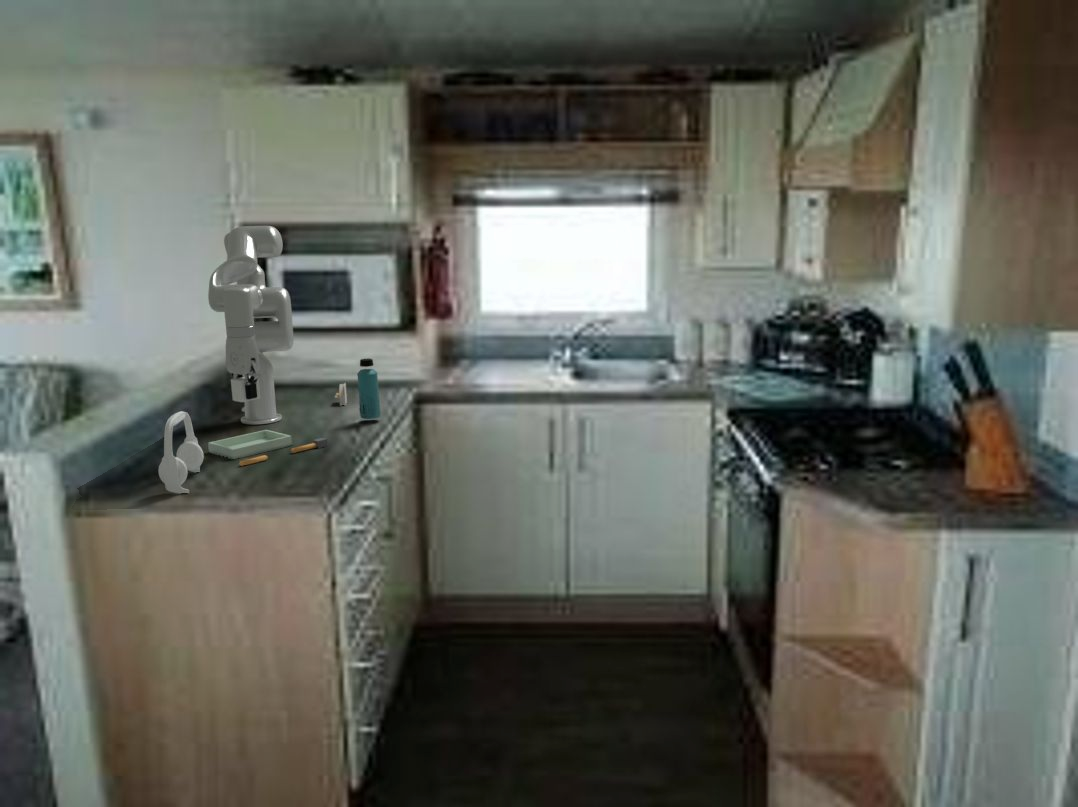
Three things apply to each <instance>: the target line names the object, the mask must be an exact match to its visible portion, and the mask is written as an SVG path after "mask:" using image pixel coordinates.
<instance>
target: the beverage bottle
mask: <svg viewBox="0 0 1078 807" xmlns="http://www.w3.org/2000/svg"><path fill="white" fill-rule="evenodd" d="M359 366H360V367H366V368H363V369H360V370H359V371H358V372H357V373H356V376H357V388H358V399H359V401H358V404H359V416H360V418H361V419H363V420H373V419H378V418H380V416H381V404H380V403H381V402H380V399H381V398H380V392H379V379H378V371H377V370H375V369H374V368H367V367H373V366H374V360H373V358H361V359H360V360H359Z"/></svg>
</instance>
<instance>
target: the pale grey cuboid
mask: <svg viewBox="0 0 1078 807" xmlns="http://www.w3.org/2000/svg"><path fill="white" fill-rule="evenodd" d="M250 377H251V376H249V379H250ZM245 385H247V384H246V380H245V377H241V378H235V379H233V378H232V379H230V386H231V396H232V401H234V402H238V403H244V402H246V401H251V400H256V399H261V397H260V386H259V378H258V380H257V384H256V387H257V398H253V399H246V391H245Z"/></svg>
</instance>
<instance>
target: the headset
mask: <svg viewBox="0 0 1078 807" xmlns="http://www.w3.org/2000/svg"><path fill="white" fill-rule="evenodd" d="M182 421H183V424H184V427H185V428H184V430H185V434H186V437H185V438H184V439H183V440H184V441H183V442H182V443H181V444H180V445H179V446H178V448H177V450H176V455H174V453H173V429H174V426H177V425H178V424H179V423H180V422H182ZM163 438H164V439H163V442H164V443H163V457H162V458H161V461H160V464H159V465H158V476H159V479H160V480H161V482H162V483H163V484H164V486H165V490H166V491H168V492H170V493H175V494H181V493H188V494H190V490H189V489H188V488H184V487H182V484H184V483H185V481H186V480H187V477H188V471H189V472H192V473H196V472H201V469H200V468H201V466H202V464H203V461H204V455H205V454H204V451H203V448H202V447H201V446H200V445H199V441H198V438H197V437H196V436H195V433H194V428H193V424H192V419H191V416H190V415H189V413H188V412H186V411H182V410H181V411H178V412H175V413H174V414H172V415H171V416H170V417H169V418H168V419H167V421H166V423H165V427H164V437H163Z"/></svg>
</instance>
